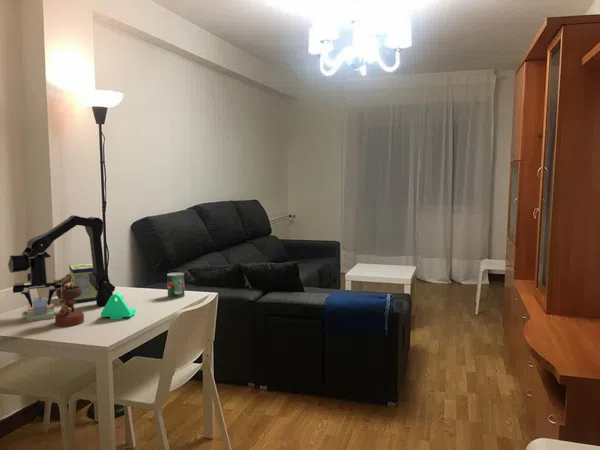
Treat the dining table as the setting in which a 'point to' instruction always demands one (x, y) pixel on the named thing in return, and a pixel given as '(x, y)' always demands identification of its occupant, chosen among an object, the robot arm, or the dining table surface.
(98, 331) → the dining table surface
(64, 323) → the brown bird figurine
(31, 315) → the green stand
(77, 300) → the protein box
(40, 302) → the housing
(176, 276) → the canned tomato
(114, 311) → the camera mount
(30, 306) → the walnut stand
